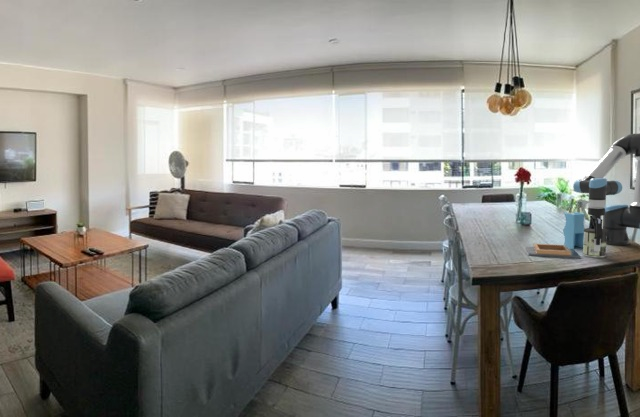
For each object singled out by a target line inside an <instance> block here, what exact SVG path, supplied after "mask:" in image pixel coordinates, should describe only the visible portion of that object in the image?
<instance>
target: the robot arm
mask: <svg viewBox="0 0 640 417" xmlns="http://www.w3.org/2000/svg"><path fill="white" fill-rule="evenodd" d="M628 155H634V158H635V159H636V160H637V166H636V173H635V174H636V175H635V182H634V194H633V202H631V203H629V205H628V204H625V203H624V204H609V205H607V200H606V199H607V196H615V195H617V194H620V193H621V192H622V190H623V184H622V183H621V182H620V181H618V180H608V179H607V178H605V177H606V176H607V175H608V173H610V171H611V170H612V169H613V168H614V167H615V166H616V164H617V163H619V161H620V160H622V159H625V157H626V156H628ZM572 186H573V191H575V193H579V194H587V195H588V200H587V203H586V204H587V205H588V208H587V214H588V215H589V224H588V228H591V229H594V230H595V237H594V251H600V246H601V238H602V229H605V230H607V238H606V245H611V246H612V245H614V246H627V245H630V237H629V234H628V232H627V231H628V230H627V229H629V228H631V229H639V230H640V133H630V134H627V135H624V136H622V137H619V139H617V140H615V141H614V142H613V143H611V145H610V146H608V148H607V151H606V153H605V154H604V155H603V157H601V159H600V160H599V161H598V162H597V163H596V164H595V165H594V166H593V167H592V169H591V170H590V171H588V173H587V174H586V175H585V176H584V177H583V179H577V180H575V181H574V182H573V185H572ZM601 216H602V218H601Z"/></svg>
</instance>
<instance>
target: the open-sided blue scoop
mask: <svg viewBox="0 0 640 417" xmlns="http://www.w3.org/2000/svg"><path fill="white" fill-rule="evenodd" d="M563 214H564V217H565V224H564V227H563V230H562V231H563V232H562V233H563V236H564V244H563V245H566V246H567V247H568V249H574V250H575V247H577V248H582V249H583V244H584V229H585V228H586V227H585V225H584V220H585V215H586V213H583V212H577V211H574V212H573V213H567V212H564V213H563Z"/></svg>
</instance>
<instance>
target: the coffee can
mask: <svg viewBox="0 0 640 417" xmlns="http://www.w3.org/2000/svg"><path fill="white" fill-rule="evenodd" d="M584 228H585V229H584V244H583V248H582V255H583V256H585V257H588V258H597V259H598V258H606V255H607V252H606V250H607V244H606V238H607V230H605V229H603V228H602V238H601V246H600V251H594V237H595V230H594V229H591V228H589V227H584Z"/></svg>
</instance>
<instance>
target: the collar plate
mask: <svg viewBox="0 0 640 417" xmlns="http://www.w3.org/2000/svg"><path fill="white" fill-rule="evenodd" d="M525 250H526V252H527V255H528V256H531V257H548V258H564V259H565V258H568V259H581V255H580V254H579V253H578V252H577V251H576V250H575V248H574V249H571V248H568V247H567V246H566V245H564V244H544V243H533V246H525Z"/></svg>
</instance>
